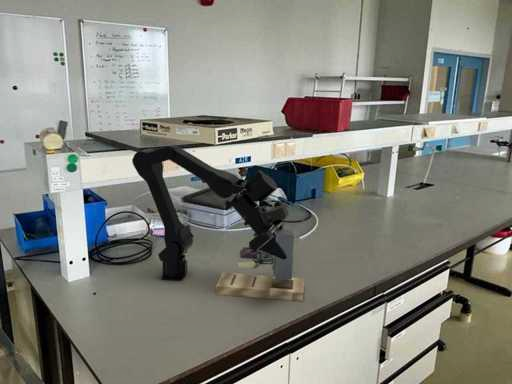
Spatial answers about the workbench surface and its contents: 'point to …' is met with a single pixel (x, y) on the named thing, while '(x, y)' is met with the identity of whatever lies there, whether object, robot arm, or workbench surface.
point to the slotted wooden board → (260, 286)
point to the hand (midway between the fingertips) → (288, 254)
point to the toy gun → (250, 254)
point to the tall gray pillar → (285, 241)
